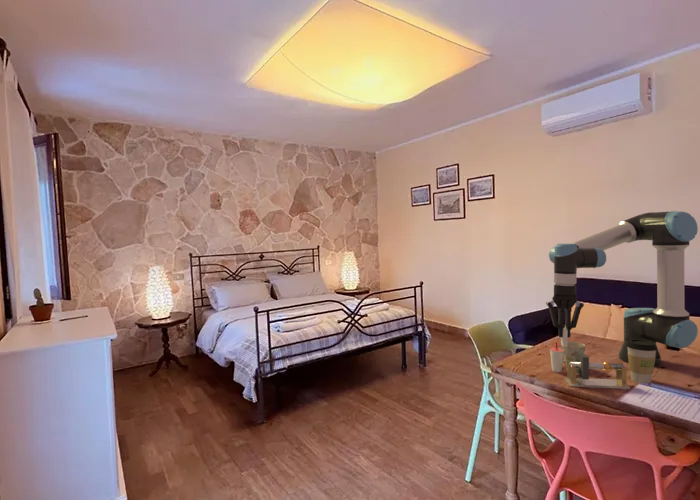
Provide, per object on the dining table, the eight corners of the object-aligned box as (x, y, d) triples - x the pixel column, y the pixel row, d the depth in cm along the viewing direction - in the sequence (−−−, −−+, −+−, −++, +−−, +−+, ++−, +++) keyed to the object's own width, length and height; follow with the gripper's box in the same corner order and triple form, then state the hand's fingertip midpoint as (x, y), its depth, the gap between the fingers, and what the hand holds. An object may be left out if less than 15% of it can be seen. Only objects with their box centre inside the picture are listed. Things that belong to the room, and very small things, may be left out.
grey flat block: (580, 371, 157) (580, 350, 157) (588, 379, 149) (588, 357, 149) (575, 371, 158) (575, 350, 157) (582, 379, 150) (583, 357, 149)
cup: (550, 372, 166) (550, 343, 165) (548, 368, 171) (548, 340, 170) (565, 373, 164) (565, 344, 163) (563, 369, 169) (563, 341, 168)
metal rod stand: (621, 381, 154) (621, 360, 154) (630, 389, 147) (630, 366, 147) (564, 379, 158) (564, 358, 158) (570, 386, 151) (570, 364, 151)
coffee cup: (658, 387, 148) (659, 347, 148) (626, 382, 154) (626, 343, 153) (655, 378, 157) (656, 340, 156) (624, 374, 162) (625, 337, 161)
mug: (588, 371, 166) (588, 347, 165) (555, 370, 168) (555, 346, 168) (581, 364, 174) (581, 341, 173) (549, 363, 176) (549, 340, 176)
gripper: (580, 283, 155) (579, 343, 156) (543, 282, 158) (543, 342, 159) (587, 285, 148) (586, 349, 149) (549, 285, 150) (548, 347, 151)
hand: (564, 345), depth 154 cm, fingers closed
